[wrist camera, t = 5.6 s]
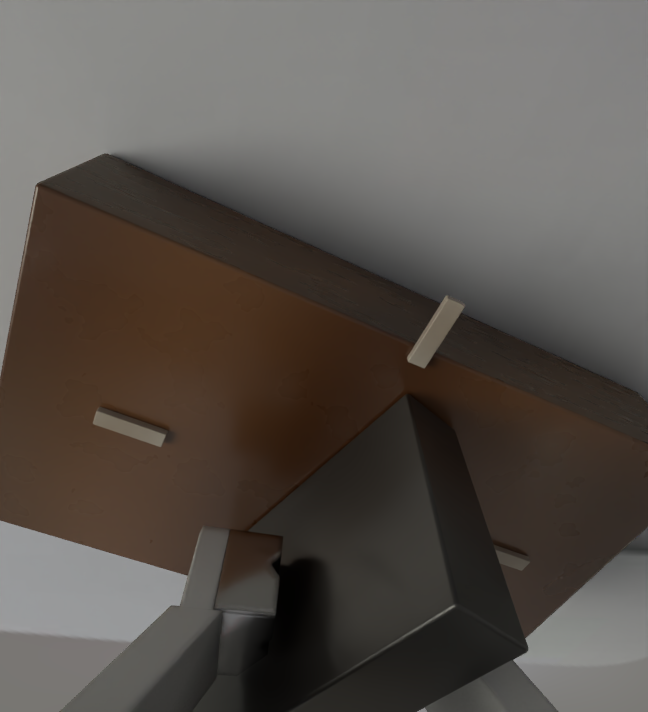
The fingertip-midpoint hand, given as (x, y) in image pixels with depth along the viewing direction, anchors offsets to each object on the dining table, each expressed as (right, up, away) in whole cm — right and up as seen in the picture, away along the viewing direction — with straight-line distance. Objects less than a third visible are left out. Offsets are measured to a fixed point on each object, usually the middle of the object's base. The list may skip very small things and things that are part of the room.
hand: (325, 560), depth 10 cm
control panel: (0, +2, +4) cm, 5 cm away
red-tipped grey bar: (0, +1, +1) cm, 2 cm away
